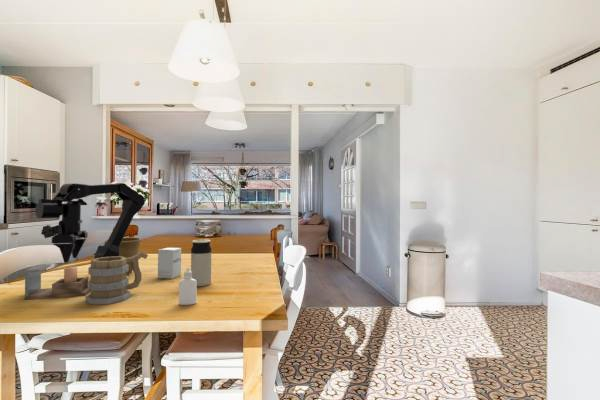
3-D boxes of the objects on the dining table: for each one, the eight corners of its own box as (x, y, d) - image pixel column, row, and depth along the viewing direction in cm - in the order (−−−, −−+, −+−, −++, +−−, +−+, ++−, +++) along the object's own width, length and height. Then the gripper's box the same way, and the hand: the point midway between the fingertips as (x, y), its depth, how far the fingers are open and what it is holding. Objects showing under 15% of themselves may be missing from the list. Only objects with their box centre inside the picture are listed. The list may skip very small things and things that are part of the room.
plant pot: (108, 271, 160) (108, 237, 160) (142, 269, 165) (142, 237, 165) (100, 278, 146) (100, 241, 146) (137, 276, 151) (138, 240, 151)
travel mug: (190, 287, 133) (190, 241, 133) (191, 282, 140) (191, 239, 140) (211, 286, 135) (211, 241, 135) (210, 281, 142) (211, 239, 142)
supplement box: (172, 279, 146) (172, 250, 146) (157, 278, 148) (157, 249, 148) (181, 275, 153) (181, 247, 153) (167, 274, 155) (167, 247, 155)
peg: (78, 288, 126) (78, 267, 126) (75, 291, 122) (75, 269, 122) (66, 289, 124) (66, 267, 124) (62, 292, 121) (62, 269, 121)
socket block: (93, 288, 130) (93, 262, 130) (85, 295, 120) (85, 267, 120) (37, 291, 124) (37, 264, 124) (24, 299, 115) (25, 270, 115)
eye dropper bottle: (184, 300, 115) (184, 266, 115) (198, 302, 114) (199, 266, 114) (176, 304, 111) (176, 268, 111) (191, 306, 109) (191, 269, 109)
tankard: (94, 307, 108) (95, 260, 108) (81, 299, 116) (82, 255, 116) (155, 294, 123) (156, 253, 123) (140, 288, 131) (140, 249, 131)
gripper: (55, 216, 130) (54, 256, 129) (33, 219, 112) (32, 265, 112) (88, 216, 133) (87, 255, 133) (72, 218, 115) (71, 264, 115)
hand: (70, 260), depth 123 cm, fingers open, 9 cm apart
